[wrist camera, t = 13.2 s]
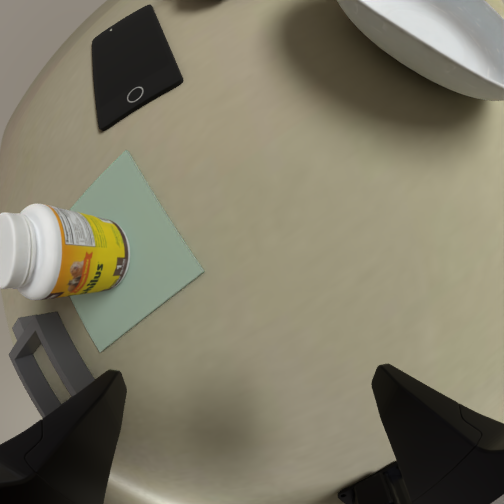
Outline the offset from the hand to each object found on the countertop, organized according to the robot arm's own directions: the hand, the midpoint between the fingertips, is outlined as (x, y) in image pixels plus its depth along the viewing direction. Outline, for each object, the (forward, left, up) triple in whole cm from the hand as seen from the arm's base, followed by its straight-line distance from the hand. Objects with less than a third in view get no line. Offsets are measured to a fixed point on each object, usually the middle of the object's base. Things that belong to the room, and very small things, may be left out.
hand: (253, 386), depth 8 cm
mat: (+11, +8, -9) cm, 17 cm away
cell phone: (+30, -3, -10) cm, 31 cm away
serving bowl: (+11, -28, -10) cm, 32 cm away
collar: (+6, +22, -9) cm, 25 cm away
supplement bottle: (+11, +8, -9) cm, 17 cm away
